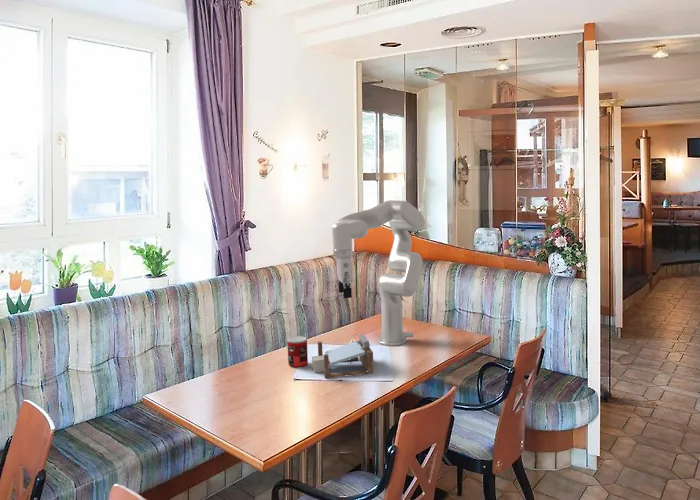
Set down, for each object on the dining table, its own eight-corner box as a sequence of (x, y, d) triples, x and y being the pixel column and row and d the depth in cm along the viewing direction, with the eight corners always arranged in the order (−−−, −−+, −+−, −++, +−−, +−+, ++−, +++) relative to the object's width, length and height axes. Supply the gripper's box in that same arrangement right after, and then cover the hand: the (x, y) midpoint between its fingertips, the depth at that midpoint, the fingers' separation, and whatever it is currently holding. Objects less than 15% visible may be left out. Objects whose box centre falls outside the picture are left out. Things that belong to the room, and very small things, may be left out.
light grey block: (326, 355, 233) (311, 356, 232) (328, 359, 228) (313, 360, 227) (327, 366, 233) (312, 368, 232) (329, 371, 229) (314, 373, 228)
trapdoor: (364, 341, 239) (362, 332, 239) (372, 351, 226) (369, 342, 225) (325, 354, 237) (323, 345, 236) (331, 365, 223) (328, 356, 223)
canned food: (288, 362, 241) (287, 336, 239) (307, 361, 242) (306, 335, 240) (288, 368, 233) (286, 342, 232) (308, 367, 234) (307, 341, 232)
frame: (363, 358, 243) (363, 337, 241) (373, 373, 225) (373, 351, 224) (318, 362, 239) (317, 341, 238) (325, 378, 221) (324, 355, 220)
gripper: (356, 256, 225) (359, 299, 228) (347, 249, 241) (349, 289, 244) (337, 257, 223) (340, 301, 226) (329, 250, 240) (332, 291, 243)
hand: (345, 294), depth 235 cm, fingers open, 9 cm apart
